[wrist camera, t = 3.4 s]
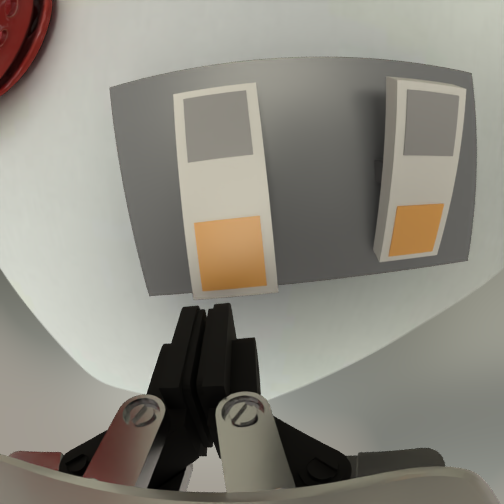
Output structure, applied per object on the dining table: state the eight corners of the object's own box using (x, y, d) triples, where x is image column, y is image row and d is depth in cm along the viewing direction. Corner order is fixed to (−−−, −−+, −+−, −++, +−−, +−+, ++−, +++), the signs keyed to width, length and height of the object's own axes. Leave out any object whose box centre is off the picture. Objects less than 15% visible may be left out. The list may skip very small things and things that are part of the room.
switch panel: (447, 76, 16) (481, 71, 13) (447, 245, 21) (475, 267, 18) (128, 92, 17) (101, 85, 13) (160, 275, 22) (144, 304, 18)
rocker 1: (256, 91, 15) (255, 81, 13) (277, 286, 16) (278, 292, 15) (179, 102, 15) (172, 93, 13) (198, 293, 16) (193, 300, 15)
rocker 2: (452, 84, 12) (467, 89, 11) (428, 243, 18) (437, 255, 17) (386, 76, 12) (398, 80, 11) (372, 249, 18) (379, 263, 17)
